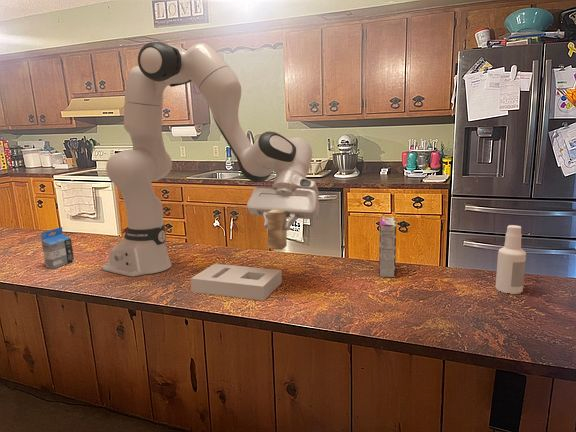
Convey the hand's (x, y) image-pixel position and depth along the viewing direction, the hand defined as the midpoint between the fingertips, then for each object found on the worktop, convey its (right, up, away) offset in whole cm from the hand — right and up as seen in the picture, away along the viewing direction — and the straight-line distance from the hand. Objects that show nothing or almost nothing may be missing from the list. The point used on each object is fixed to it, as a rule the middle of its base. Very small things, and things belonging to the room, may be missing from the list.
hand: (276, 228), depth 121 cm
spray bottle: (+64, -17, +3) cm, 66 cm away
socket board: (-11, -17, +9) cm, 22 cm away
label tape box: (-75, -14, +33) cm, 83 cm away
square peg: (0, -5, +2) cm, 5 cm away
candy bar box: (+34, -14, +20) cm, 42 cm away
